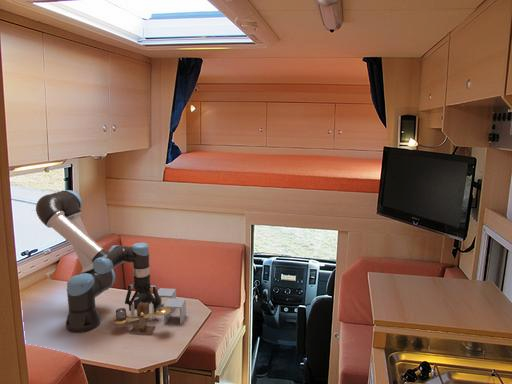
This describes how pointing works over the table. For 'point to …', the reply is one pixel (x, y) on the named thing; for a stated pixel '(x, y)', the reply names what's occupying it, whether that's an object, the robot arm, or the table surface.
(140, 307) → the block
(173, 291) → the cover
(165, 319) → the cover
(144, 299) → the rock
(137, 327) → the balance
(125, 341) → the table surface
